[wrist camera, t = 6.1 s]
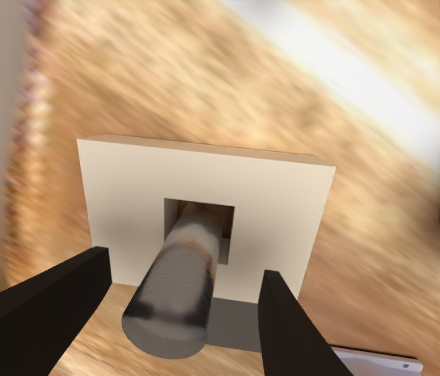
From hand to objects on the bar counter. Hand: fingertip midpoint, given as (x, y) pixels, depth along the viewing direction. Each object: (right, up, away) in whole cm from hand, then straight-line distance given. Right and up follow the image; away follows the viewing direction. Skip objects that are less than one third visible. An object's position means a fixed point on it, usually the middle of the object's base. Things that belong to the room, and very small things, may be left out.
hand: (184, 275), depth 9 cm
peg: (+1, +2, +6) cm, 7 cm away
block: (0, +2, +6) cm, 7 cm away
